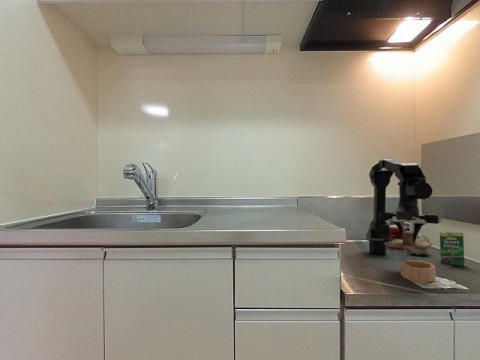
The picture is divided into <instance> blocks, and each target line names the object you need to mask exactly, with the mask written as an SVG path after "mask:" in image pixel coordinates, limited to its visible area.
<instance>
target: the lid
mask: <svg viewBox="0 0 480 360" xmlns="http://www.w3.org/2000/svg"><path fill="white" fill-rule="evenodd" d="M413 236H414V231H409V230H406V231H405V232H403V240H400V239H395V240H393V241H391V242H386V246H387V247H389V248H390V247H398V248H406V249H408V250H409V249H415V250H423V251H425V250H426V249H428V248H429V247H430V248H431V247H432V246H433V244H432V243H433V242H430V241H429V242H419V241H415V242H414V240H413ZM430 248H429V249H430ZM406 249H405V250H406Z"/></svg>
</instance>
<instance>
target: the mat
mask: <svg viewBox="0 0 480 360" xmlns="http://www.w3.org/2000/svg"><path fill="white" fill-rule="evenodd" d="M359 266H360V267H365V268H369V269H370V268H372V269H378V270H383V271H387V272H393V273H398V272H400V270H401V262H398V261H393V260H392V261H391V260H385V259H381V258H380V259H379V258H373V257H369V258H368V259H366V260H364V261H363V262H361V263H360V264H359Z"/></svg>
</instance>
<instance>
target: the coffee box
mask: <svg viewBox="0 0 480 360" xmlns="http://www.w3.org/2000/svg"><path fill="white" fill-rule="evenodd" d="M464 241H465V240H464V233H463V232H454V231H453V232H451V231H439V246H440V248H439V249H440V263H441V264H443V263H444V264H448V265H450V266H455V267H456V266H457V267H463V268H464V267H465V247H464V246H465V244H464V243H465V242H464Z"/></svg>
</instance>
